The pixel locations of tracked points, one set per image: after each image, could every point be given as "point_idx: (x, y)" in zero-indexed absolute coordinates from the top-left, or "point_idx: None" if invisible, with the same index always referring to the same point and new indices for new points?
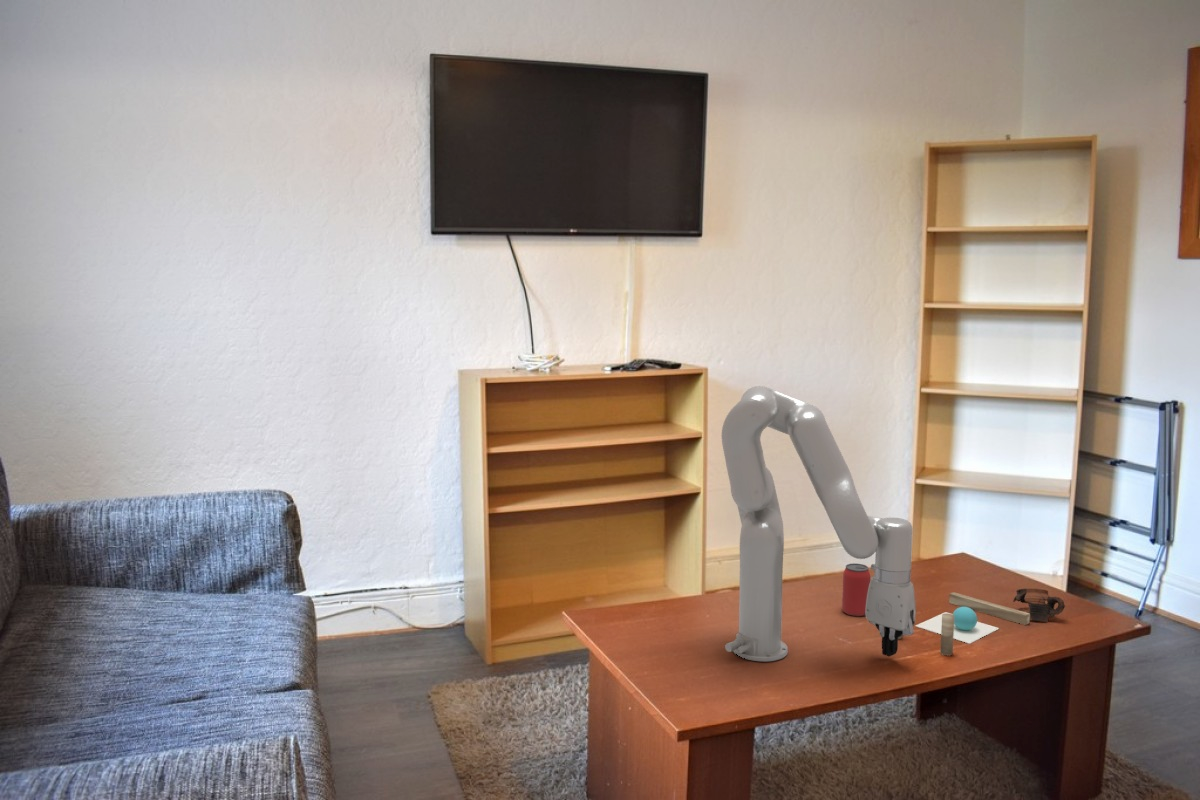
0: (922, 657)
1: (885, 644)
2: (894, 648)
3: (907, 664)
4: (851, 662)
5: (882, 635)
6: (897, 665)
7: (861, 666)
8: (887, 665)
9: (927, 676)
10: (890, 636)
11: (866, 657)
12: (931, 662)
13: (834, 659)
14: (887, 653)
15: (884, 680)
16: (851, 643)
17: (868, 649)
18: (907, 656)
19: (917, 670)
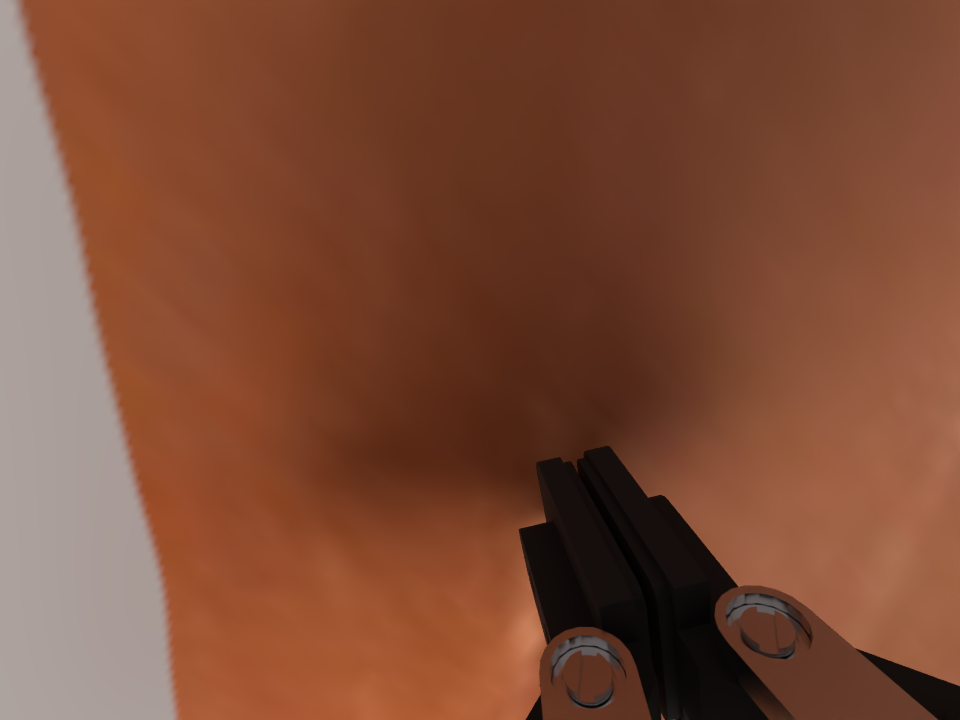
0: (468, 695)
1: (624, 531)
2: (529, 571)
3: (428, 544)
4: (734, 130)
5: (747, 612)
6: (452, 467)
7: (612, 151)
8: (495, 394)
9: (162, 535)
10: (619, 680)
11: (713, 348)
12: (373, 698)
13: (894, 13)
14: (555, 473)
15: (225, 101)
16: (950, 430)
17: (795, 469)
18: (536, 627)
19: (298, 540)
